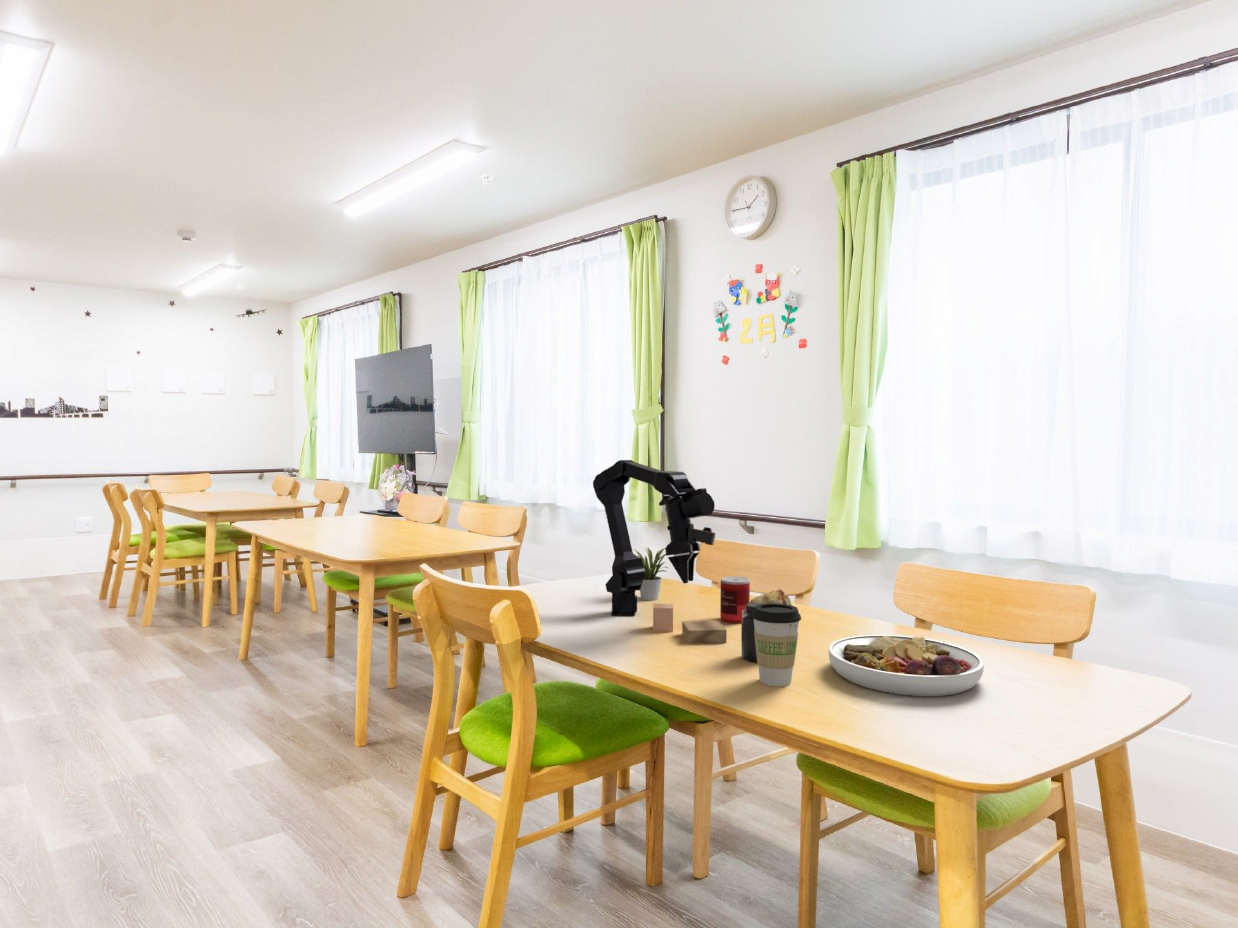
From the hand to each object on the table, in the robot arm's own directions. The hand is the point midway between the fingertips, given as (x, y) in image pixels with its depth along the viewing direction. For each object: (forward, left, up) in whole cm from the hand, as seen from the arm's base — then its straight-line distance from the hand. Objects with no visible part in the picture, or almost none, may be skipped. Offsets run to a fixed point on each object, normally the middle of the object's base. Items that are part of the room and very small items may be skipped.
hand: (688, 582), depth 198 cm
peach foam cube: (-6, +1, -12) cm, 14 cm away
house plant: (-9, +37, -12) cm, 40 cm away
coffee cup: (+17, -39, -12) cm, 44 cm away
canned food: (+13, +12, -13) cm, 21 cm away
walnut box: (+4, -7, -13) cm, 15 cm away
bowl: (+44, -33, -13) cm, 56 cm away
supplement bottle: (+15, -23, -13) cm, 30 cm away
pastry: (+23, +15, -13) cm, 30 cm away
